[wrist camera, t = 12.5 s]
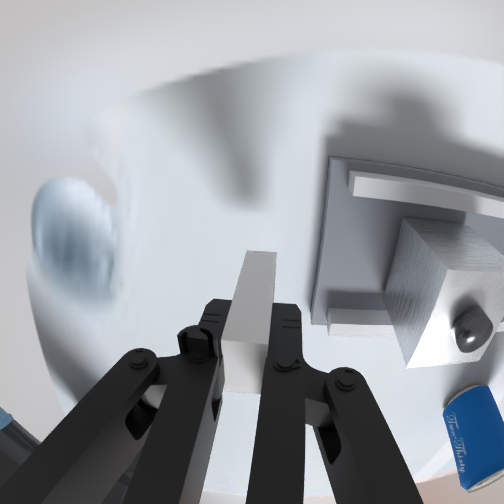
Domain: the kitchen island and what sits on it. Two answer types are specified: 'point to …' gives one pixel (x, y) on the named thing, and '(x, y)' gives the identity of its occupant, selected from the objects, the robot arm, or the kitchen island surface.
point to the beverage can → (476, 437)
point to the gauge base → (386, 234)
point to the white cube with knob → (444, 293)
